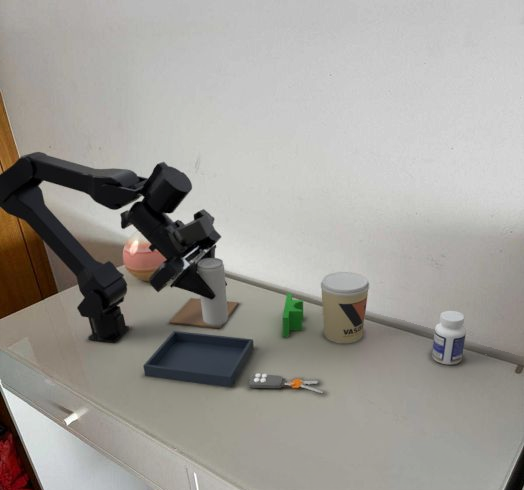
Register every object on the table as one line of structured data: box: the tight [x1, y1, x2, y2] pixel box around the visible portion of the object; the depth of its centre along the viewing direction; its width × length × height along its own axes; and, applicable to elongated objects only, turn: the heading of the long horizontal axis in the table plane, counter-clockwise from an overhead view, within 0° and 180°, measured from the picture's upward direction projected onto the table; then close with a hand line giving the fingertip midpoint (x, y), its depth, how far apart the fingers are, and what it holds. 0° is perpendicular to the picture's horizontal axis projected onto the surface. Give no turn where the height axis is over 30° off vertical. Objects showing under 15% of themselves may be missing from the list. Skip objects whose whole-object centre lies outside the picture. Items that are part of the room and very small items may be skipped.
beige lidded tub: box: [320, 271, 370, 344], centre depth 99 cm, size 9×9×12 cm
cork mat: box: [169, 297, 239, 330], centre depth 113 cm, size 12×12×1 cm
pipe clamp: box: [282, 293, 304, 338], centre depth 106 cm, size 11×4×5 cm, turn 173°
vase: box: [122, 229, 166, 283], centre depth 129 cm, size 14×14×18 cm
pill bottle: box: [431, 310, 467, 366], centre depth 91 cm, size 5×5×9 cm
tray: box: [142, 330, 255, 388], centre depth 95 cm, size 17×13×2 cm
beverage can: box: [197, 257, 229, 326], centre depth 92 cm, size 5×5×12 cm
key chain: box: [248, 372, 323, 394], centre depth 87 cm, size 13×4×2 cm, turn 80°
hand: (219, 292), depth 92 cm, fingers closed on beverage can, 5 cm apart
